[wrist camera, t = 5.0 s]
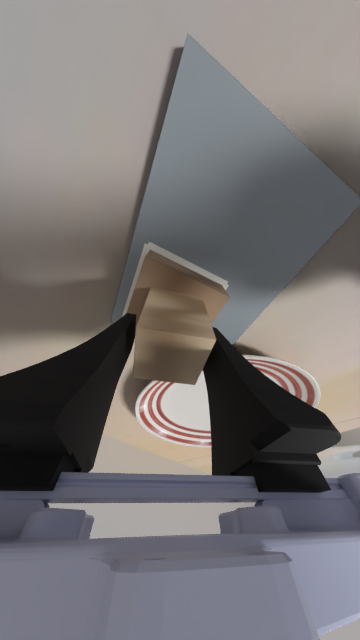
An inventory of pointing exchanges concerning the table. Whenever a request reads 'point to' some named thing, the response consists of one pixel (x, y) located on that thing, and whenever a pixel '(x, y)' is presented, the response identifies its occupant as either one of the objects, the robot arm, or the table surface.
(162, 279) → the walnut slab
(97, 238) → the table surface
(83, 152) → the table surface
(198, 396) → the dinner plate
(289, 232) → the build board
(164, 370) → the oak block
